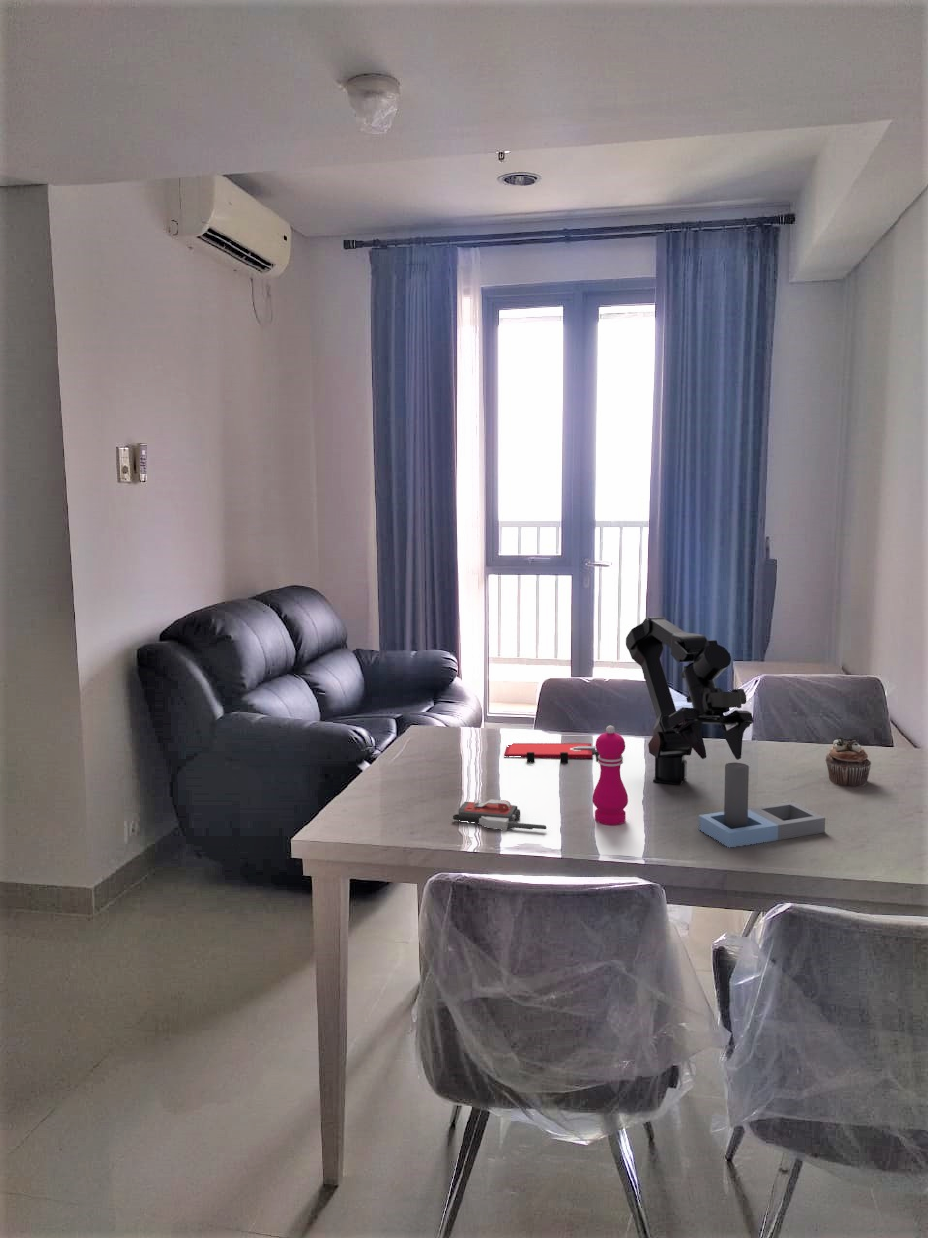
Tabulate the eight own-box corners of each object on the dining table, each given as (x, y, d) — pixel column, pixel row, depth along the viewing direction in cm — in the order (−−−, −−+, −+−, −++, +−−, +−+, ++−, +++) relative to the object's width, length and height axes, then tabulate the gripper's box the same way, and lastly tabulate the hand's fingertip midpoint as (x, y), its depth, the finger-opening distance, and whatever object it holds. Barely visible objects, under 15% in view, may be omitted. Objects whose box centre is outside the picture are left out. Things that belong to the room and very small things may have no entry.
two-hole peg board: (728, 848, 164) (729, 833, 163) (698, 829, 173) (699, 815, 173) (824, 832, 171) (825, 817, 170) (790, 815, 180) (791, 801, 180)
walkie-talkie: (449, 827, 178) (545, 836, 172) (448, 807, 178) (545, 815, 172) (461, 813, 186) (553, 820, 181) (461, 793, 186) (553, 800, 180)
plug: (719, 835, 170) (720, 766, 168) (730, 829, 173) (731, 761, 171) (740, 841, 167) (742, 771, 165) (751, 834, 170) (753, 765, 168)
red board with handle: (622, 764, 217) (619, 748, 232) (622, 753, 217) (619, 738, 231) (503, 763, 221) (507, 748, 236) (502, 753, 221) (507, 738, 235)
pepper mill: (630, 815, 182) (630, 722, 179) (625, 827, 175) (625, 731, 172) (596, 812, 184) (596, 720, 181) (589, 824, 177) (589, 729, 175)
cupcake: (875, 789, 195) (877, 745, 194) (829, 787, 197) (831, 744, 196) (864, 775, 204) (866, 734, 203) (821, 773, 206) (822, 733, 205)
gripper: (691, 670, 175) (711, 743, 168) (760, 675, 183) (783, 745, 176) (658, 692, 184) (676, 763, 177) (726, 696, 192) (746, 764, 185)
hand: (721, 758), depth 178 cm, fingers open, 9 cm apart
